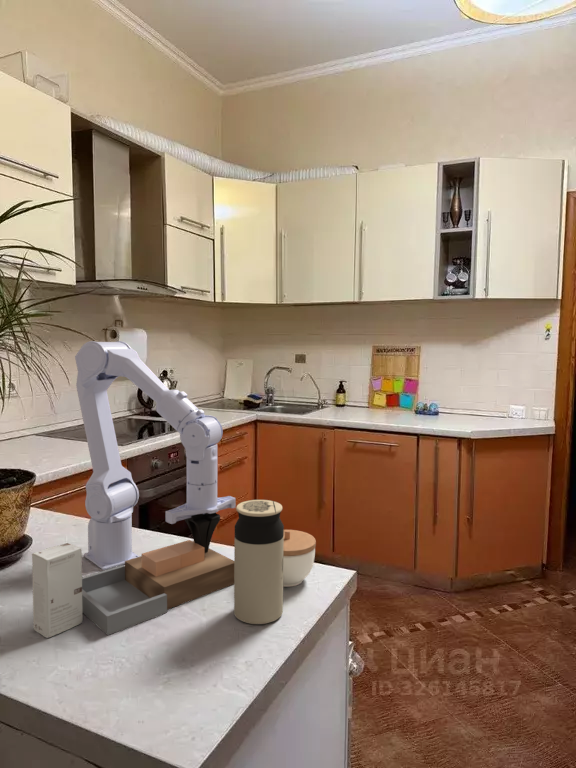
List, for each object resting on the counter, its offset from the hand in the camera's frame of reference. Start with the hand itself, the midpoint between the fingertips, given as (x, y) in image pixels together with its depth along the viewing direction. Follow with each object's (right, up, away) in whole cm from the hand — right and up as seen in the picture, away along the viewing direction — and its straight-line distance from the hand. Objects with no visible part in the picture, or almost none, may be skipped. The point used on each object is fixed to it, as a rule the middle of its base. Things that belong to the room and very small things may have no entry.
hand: (202, 551), depth 101 cm
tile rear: (-3, -1, -3) cm, 4 cm away
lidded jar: (+16, -5, -1) cm, 17 cm away
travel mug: (+11, -6, -13) cm, 19 cm away
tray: (-13, -5, -11) cm, 18 cm away
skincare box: (-19, -6, -18) cm, 27 cm away
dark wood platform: (-3, -5, -3) cm, 7 cm away
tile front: (-6, -1, -6) cm, 9 cm away
